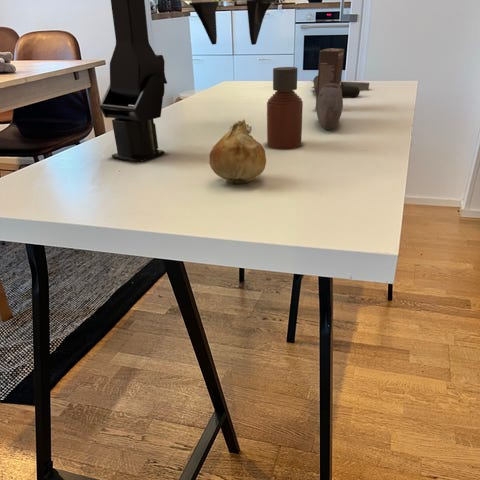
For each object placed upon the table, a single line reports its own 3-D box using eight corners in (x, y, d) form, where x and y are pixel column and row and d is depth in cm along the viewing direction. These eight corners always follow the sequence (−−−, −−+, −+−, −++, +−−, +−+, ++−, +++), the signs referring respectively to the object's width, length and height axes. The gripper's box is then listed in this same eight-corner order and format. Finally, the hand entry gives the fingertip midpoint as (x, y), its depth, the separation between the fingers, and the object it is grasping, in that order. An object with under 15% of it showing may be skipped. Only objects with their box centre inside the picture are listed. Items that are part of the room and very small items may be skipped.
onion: (202, 178, 70) (197, 120, 65) (252, 170, 72) (251, 113, 68) (222, 193, 64) (218, 130, 59) (275, 184, 66) (276, 123, 62)
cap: (289, 91, 77) (289, 70, 75) (268, 90, 79) (268, 69, 77) (301, 88, 80) (301, 67, 78) (280, 86, 82) (281, 66, 80)
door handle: (366, 76, 136) (309, 74, 137) (376, 87, 119) (311, 84, 121) (364, 89, 138) (308, 87, 139) (373, 101, 121) (309, 98, 122)
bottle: (290, 150, 81) (291, 74, 75) (260, 146, 84) (259, 73, 78) (307, 142, 85) (310, 70, 79) (278, 139, 88) (279, 68, 82)
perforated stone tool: (340, 134, 89) (343, 93, 85) (311, 134, 90) (313, 93, 86) (342, 118, 101) (345, 81, 98) (317, 118, 102) (319, 82, 99)
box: (334, 111, 107) (338, 50, 101) (314, 110, 109) (317, 50, 102) (340, 106, 112) (345, 47, 105) (321, 106, 114) (325, 48, 107)
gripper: (299, -61, 84) (296, 41, 93) (213, -52, 93) (218, 41, 102) (266, -66, 77) (266, 46, 85) (177, -55, 86) (185, 45, 94)
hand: (233, 44), depth 92 cm, fingers open, 9 cm apart
